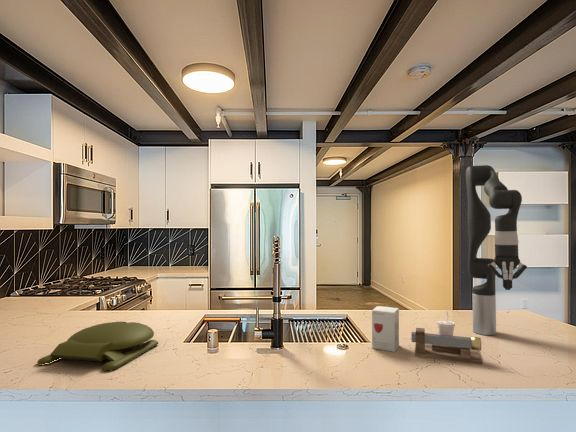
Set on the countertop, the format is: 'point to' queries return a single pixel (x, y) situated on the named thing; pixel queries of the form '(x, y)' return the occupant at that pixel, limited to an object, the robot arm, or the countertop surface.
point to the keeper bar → (451, 340)
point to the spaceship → (105, 344)
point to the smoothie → (446, 326)
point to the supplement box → (385, 328)
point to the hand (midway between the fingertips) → (507, 289)
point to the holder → (444, 350)
